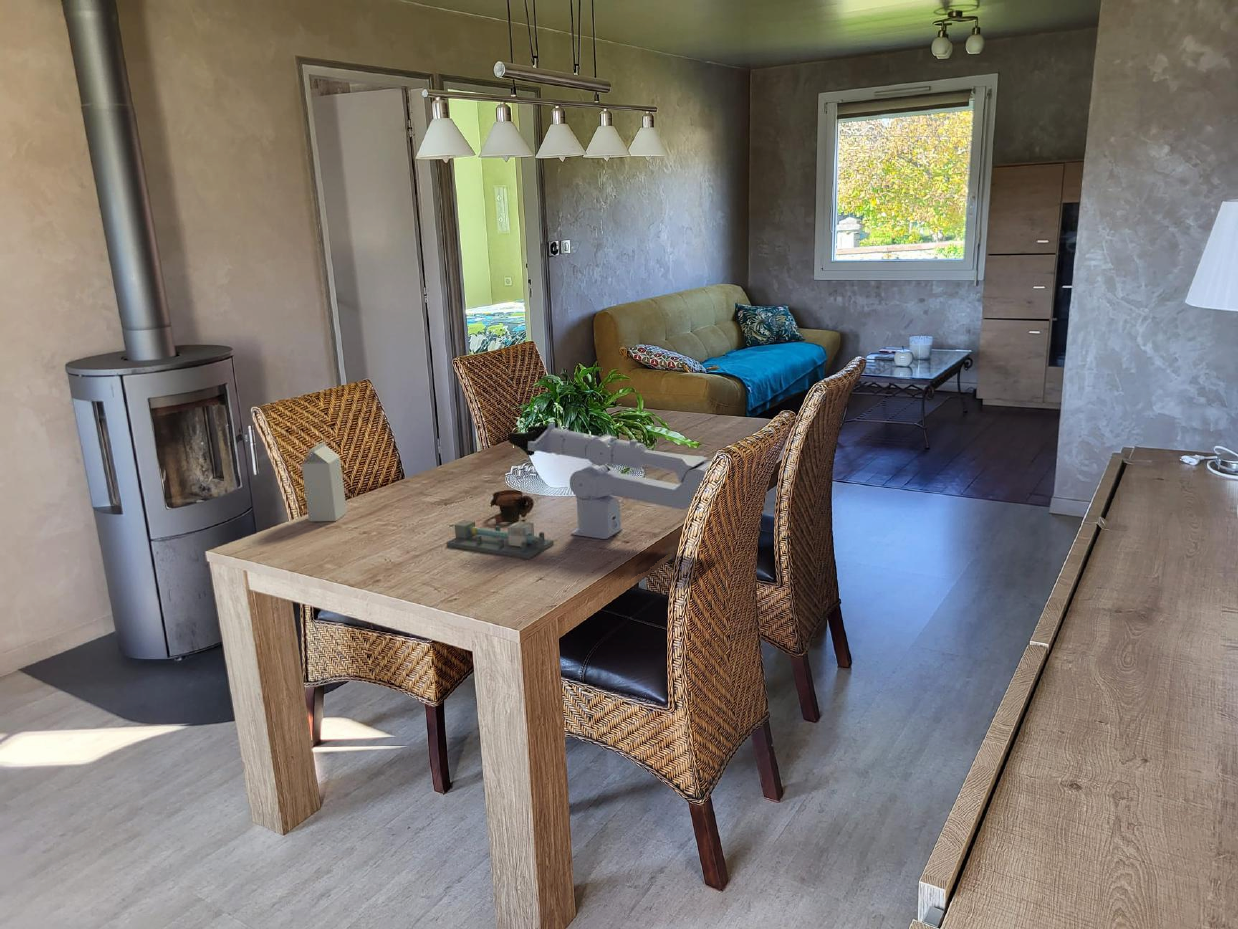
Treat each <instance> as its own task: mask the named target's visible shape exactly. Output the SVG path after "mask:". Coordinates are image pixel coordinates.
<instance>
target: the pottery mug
mask: <svg viewBox="0 0 1238 929" xmlns="http://www.w3.org/2000/svg"><path fill="white" fill-rule="evenodd" d="M492 496H493V497H492V499H491V501H490V503H489V504H490V508H492V507H493V506H497V507H499V513H497V514H494V520H495V523H496V524H501V523H516V522H518V521H520V516H521V518H525V517H527V514H529V513H530V512H531V511H532V510H533V508H534V505H535V503H534V499H533V498H532V497H531V495H530V496H529V495H524V492H522V491H521V490H519V489H506V490H499V491H496V492H494V493H492Z"/></svg>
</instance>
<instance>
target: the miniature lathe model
mask: <svg viewBox="0 0 1238 929" xmlns="http://www.w3.org/2000/svg"><path fill="white" fill-rule="evenodd" d="M454 535H455V537H454V538H452V539H450V540H448V541H446V547H451V548H454V549H456V548H457V549H461V550H466V551H467V550H468V551H473V552H481V553H487V554H493V555H500V556H504V557H506V556H507V557H511V558H512V557H513V558H519V559H524V560H530V559H531V558H533V557H534V556H537V555H538V554H540V553H541V552H544V551H545V550H546V549H549V548H550V547H552V546H554V545H555V542H554V539H549V538H547V539H546V538H545V532H544V531H540V532H538V536H535V535H534V536H529V535H526V542H522V543H521V546H514V545H509V540H508V531H501V526H500V525H496V526H494V530H492V529H487V528H480V527H479V526H476V522H475V521H473V520H472V521H471V520H467V519H465V520H462V521H459V522H457V523H455V524H454ZM526 545H527V546H526Z"/></svg>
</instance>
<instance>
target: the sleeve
mask: <svg viewBox="0 0 1238 929" xmlns="http://www.w3.org/2000/svg"><path fill="white" fill-rule="evenodd" d="M534 524H535V523H533V522H530V521H520V520H519V521H518V522H513V523H512V524H510V525H508V526H507V532H508V540H509V545H514V546H521V543H522V542H526V535H529V536H535V528H534V526H535V525H534ZM526 546H527V545H526Z"/></svg>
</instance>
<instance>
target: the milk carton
mask: <svg viewBox="0 0 1238 929" xmlns="http://www.w3.org/2000/svg"><path fill="white" fill-rule="evenodd" d="M306 456H307V458H305V460H304V461H303V462H302V463H301V472H302V479H303V488H304V493H305V494H304V495H305V501H306V502H305V503H306V511H307V515H308V516H307V518H308V522H337V521H338V520H339V519H342V517H343V516H345V515H346V514H347V512H348V511H347V502H346V495H345V487H344V479H343V470H342V462H341V456H340V455H339V454H337V453H336V452H335V451H334V450H332V449H331V448H330V447H328V446H327V445H326V441H325V440H323V441H322V442H321V443H318V444H317V445H315V446H313V447H312V448H310V450H309V451H308V452H306Z"/></svg>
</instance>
